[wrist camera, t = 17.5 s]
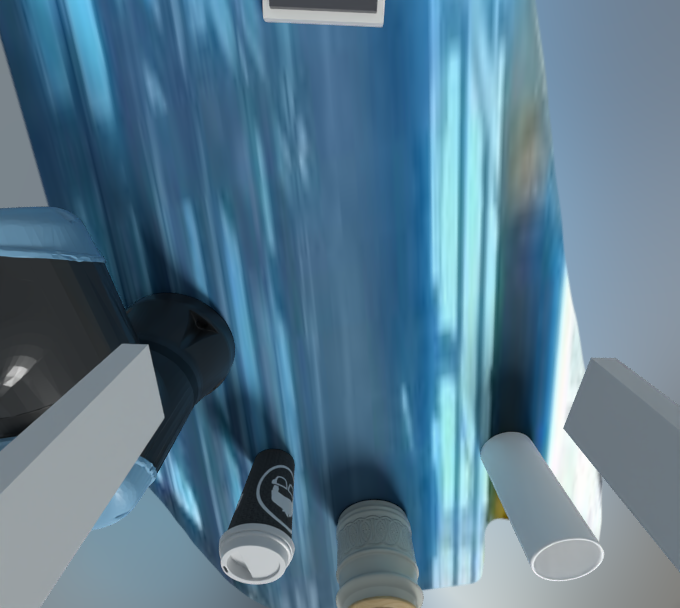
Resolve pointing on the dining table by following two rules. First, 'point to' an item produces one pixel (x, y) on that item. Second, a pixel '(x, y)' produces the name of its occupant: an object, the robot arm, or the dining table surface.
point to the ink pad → (325, 12)
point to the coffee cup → (261, 522)
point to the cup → (540, 509)
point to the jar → (376, 558)
